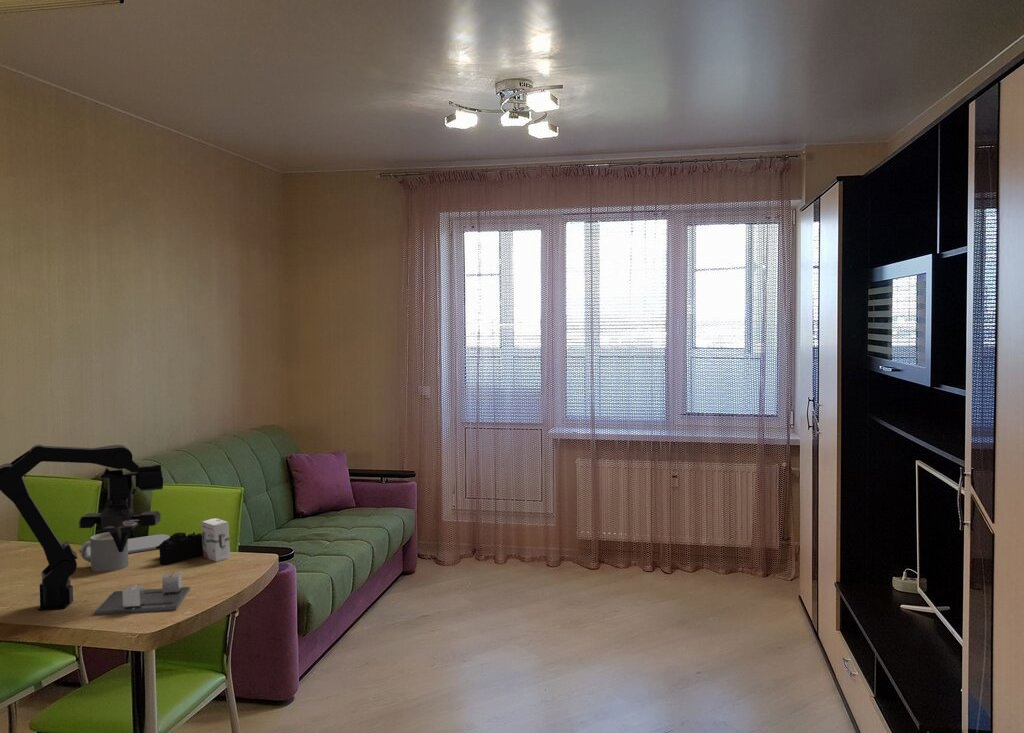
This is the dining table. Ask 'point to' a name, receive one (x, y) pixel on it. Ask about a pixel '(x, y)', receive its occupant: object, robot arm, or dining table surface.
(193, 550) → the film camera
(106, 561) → the coffee mug
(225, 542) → the ink box
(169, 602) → the plate
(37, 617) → the dining table surface
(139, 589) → the fader
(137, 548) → the tablet
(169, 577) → the fader
